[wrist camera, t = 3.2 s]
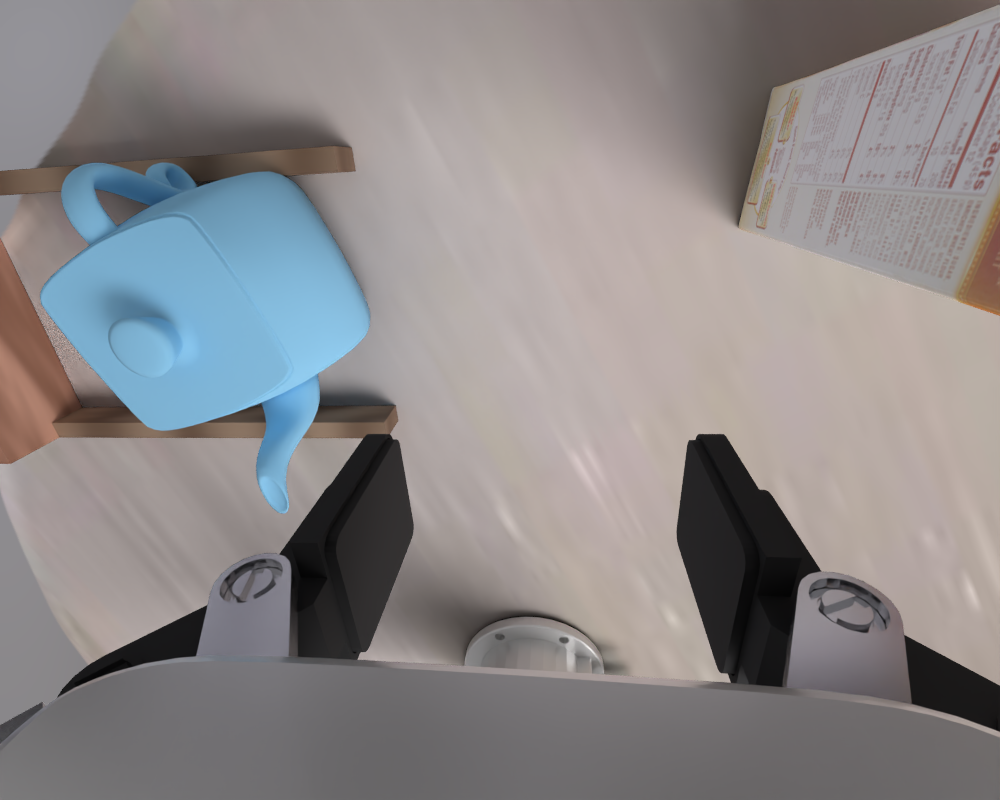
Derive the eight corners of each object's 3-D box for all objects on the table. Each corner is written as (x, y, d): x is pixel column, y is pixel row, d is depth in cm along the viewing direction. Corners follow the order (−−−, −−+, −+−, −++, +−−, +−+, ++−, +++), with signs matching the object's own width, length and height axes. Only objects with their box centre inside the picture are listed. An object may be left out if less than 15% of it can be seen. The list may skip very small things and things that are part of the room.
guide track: (351, 147, 27) (300, 143, 22) (398, 420, 35) (368, 467, 29) (-64, 178, 30) (-198, 181, 25) (60, 421, 38) (-22, 463, 33)
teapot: (290, 438, 37) (190, 551, 27) (121, 205, 29) (-105, 238, 19) (432, 386, 33) (378, 493, 23) (280, 108, 26) (106, 88, 16)
